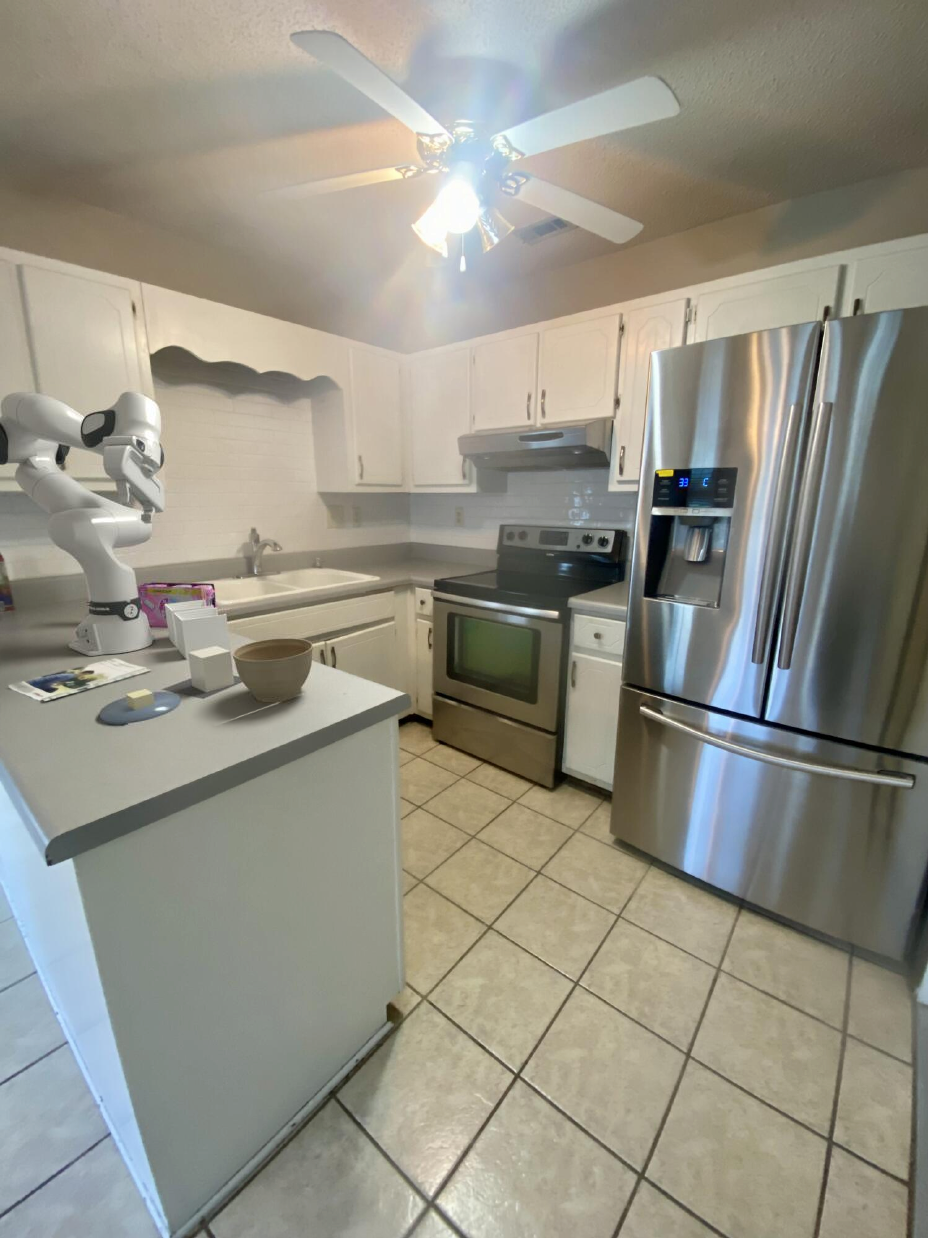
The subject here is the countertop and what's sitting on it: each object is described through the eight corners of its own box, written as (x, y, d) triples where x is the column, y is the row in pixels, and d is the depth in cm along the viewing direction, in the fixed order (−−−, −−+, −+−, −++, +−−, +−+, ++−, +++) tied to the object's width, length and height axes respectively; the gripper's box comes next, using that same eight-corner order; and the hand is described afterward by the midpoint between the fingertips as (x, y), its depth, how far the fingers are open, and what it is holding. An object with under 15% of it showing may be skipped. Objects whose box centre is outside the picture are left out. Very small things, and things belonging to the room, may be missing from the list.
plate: (84, 717, 101) (83, 712, 100) (150, 692, 113) (150, 688, 113) (131, 730, 95) (130, 725, 95) (196, 702, 108) (195, 698, 107)
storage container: (169, 639, 154) (164, 604, 151) (208, 633, 161) (204, 599, 158) (186, 660, 135) (181, 620, 132) (230, 652, 142) (226, 614, 139)
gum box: (223, 622, 174) (218, 583, 170) (209, 628, 166) (204, 587, 163) (157, 620, 176) (152, 581, 173) (141, 626, 168) (135, 586, 165)
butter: (127, 705, 104) (125, 694, 103) (147, 700, 106) (145, 688, 106) (135, 710, 101) (133, 698, 101) (154, 704, 104) (152, 693, 104)
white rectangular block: (192, 686, 116) (188, 652, 114) (219, 678, 121) (216, 645, 119) (206, 692, 112) (202, 658, 110) (234, 684, 117) (230, 651, 115)
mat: (161, 691, 114) (161, 689, 114) (210, 672, 125) (210, 671, 125) (203, 700, 109) (203, 698, 109) (250, 680, 120) (250, 678, 120)
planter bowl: (266, 679, 121) (262, 635, 118) (328, 685, 118) (325, 640, 115) (221, 706, 106) (215, 656, 103) (290, 714, 102) (286, 662, 100)
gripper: (145, 481, 127) (143, 532, 124) (97, 432, 107) (94, 492, 104) (172, 480, 128) (171, 531, 125) (130, 431, 108) (127, 490, 105)
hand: (136, 513), depth 114 cm, fingers open, 8 cm apart
